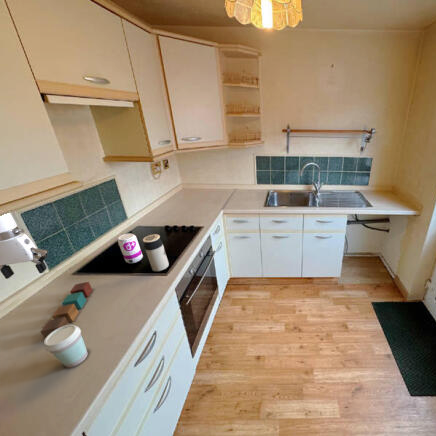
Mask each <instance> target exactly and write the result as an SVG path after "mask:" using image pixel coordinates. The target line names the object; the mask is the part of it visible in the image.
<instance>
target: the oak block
mask: <svg viewBox="0 0 436 436" xmlns="http://www.w3.org/2000/svg"><path fill="white" fill-rule="evenodd" d="M79 312H80V311H79V309H78V310H77V308H76V306H75V305H74V304H70V305H65V306H63V305H61V306H58V307H57V308H56V310H55V311H54V313H53V314H52V315H51V318H52V320H53V319H58V318H62V317H65V318H66V319H67V321H68V323H69V324H71V323H74V322H75V320H76V318H77V316H78V315H79V314H80V313H79Z"/></svg>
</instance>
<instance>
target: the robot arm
mask: <svg viewBox="0 0 436 436" xmlns="http://www.w3.org/2000/svg"><path fill="white" fill-rule="evenodd" d="M48 253H49V251H48V250H46V249H42V248H37V246H36V245H35V243H34V242H33V240H32V239H31V238H30V237H29V236H28V235H27V234H26V233H25V230H24V228H20V227H19V226H18V224H17V223H16V221H15V219H14V217H13V215H12V213H11V212H10V213H7V214H4V215H2V216H0V272H1V274H2V276H3V277H4V279H6V280H8V279H10V278H12V276H13V275H15V272H14V270H13V269H12V267H11V266H10V265H15V264H20V263H28V262H31V263H34V264H35V265H34V266H35V268H36V269H37V271H38V273H39V274H43V273H44V272H45V271H46V270H47V265H46V263H45V262H44V261H45V260H46V258H47V257H48Z"/></svg>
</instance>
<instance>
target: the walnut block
mask: <svg viewBox="0 0 436 436" xmlns="http://www.w3.org/2000/svg"><path fill="white" fill-rule="evenodd" d="M65 325H71V323H68V321H67V319H66V318H65V317H62V318H58V319H53V318H52V319H50V320H47V322H46V323H45V324H44V326H43V327H42V329H41V330H40V333H41V335H42V336H43V337H44V340H45V339H46V337H47V336H48V335H49V334H50V333H52V332H53V331H54V330H56V329H58V328H60V327H62V326H65Z"/></svg>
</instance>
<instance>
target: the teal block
mask: <svg viewBox="0 0 436 436" xmlns="http://www.w3.org/2000/svg"><path fill="white" fill-rule="evenodd" d="M86 302H87V298H85V297H84V295H83V293H82V292H79V293H74V294H71V293H70V294H67V295H66V296H65V298H64V299H63V301H62V302H61V306H65V305H70V304H74V305H75V306H76V308H77V310H78V311H79V310H81V309H83V307H84V306H85V304H86Z"/></svg>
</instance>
